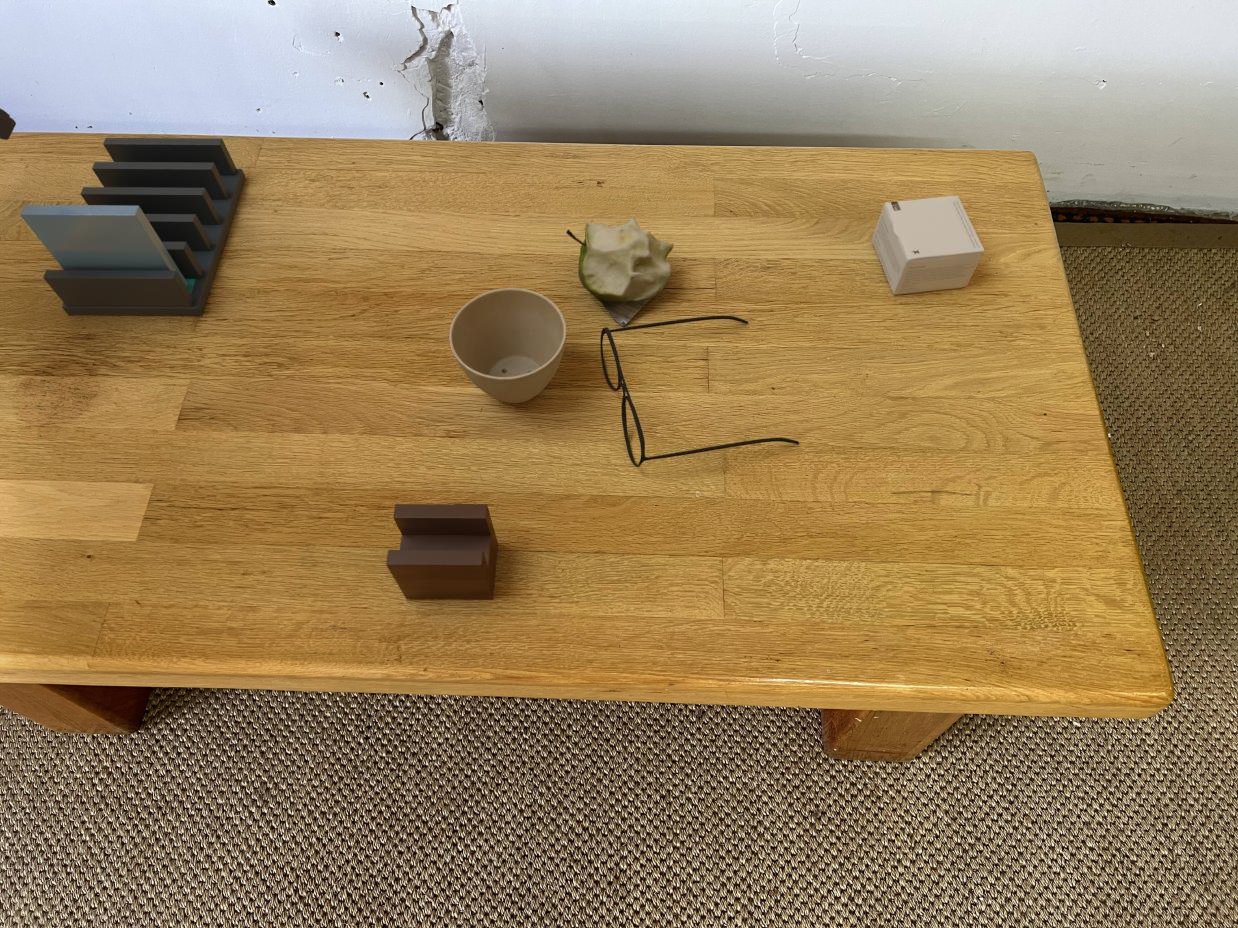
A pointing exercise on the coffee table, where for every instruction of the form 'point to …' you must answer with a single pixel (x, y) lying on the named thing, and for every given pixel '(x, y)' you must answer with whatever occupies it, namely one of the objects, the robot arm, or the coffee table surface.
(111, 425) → the coffee table surface
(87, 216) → the plate
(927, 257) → the small box
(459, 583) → the stand
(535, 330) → the flower pot
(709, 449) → the glasses
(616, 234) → the fruit
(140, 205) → the rack
